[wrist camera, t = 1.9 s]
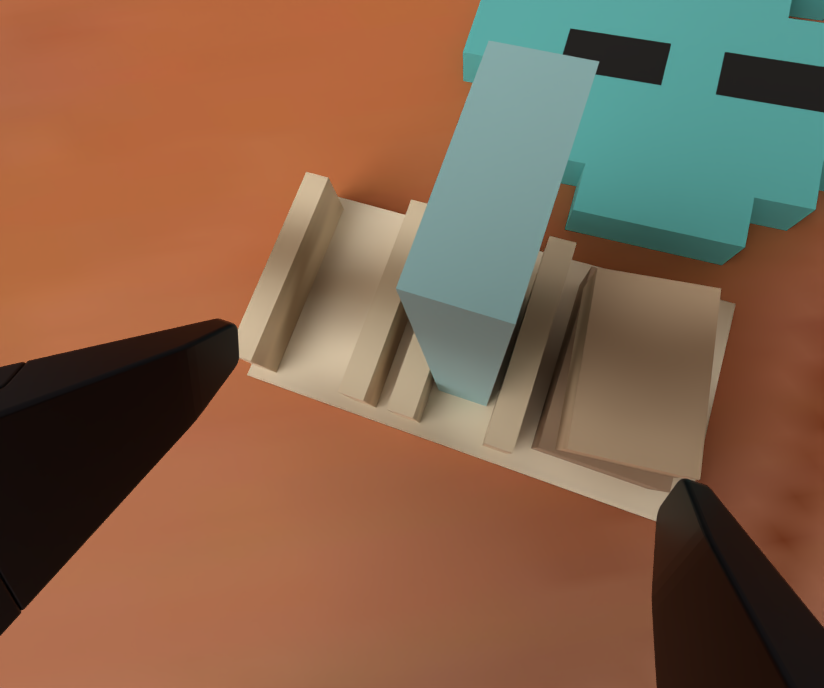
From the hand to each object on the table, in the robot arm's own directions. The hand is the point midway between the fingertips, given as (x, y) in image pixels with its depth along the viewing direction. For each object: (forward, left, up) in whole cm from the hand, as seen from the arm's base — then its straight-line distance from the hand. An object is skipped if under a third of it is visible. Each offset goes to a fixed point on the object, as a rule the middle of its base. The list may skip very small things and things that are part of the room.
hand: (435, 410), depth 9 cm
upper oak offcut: (+5, -4, -8) cm, 10 cm away
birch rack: (+4, +1, -11) cm, 12 cm away
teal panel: (+4, +1, -10) cm, 11 cm away
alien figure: (+21, -1, -12) cm, 24 cm away
